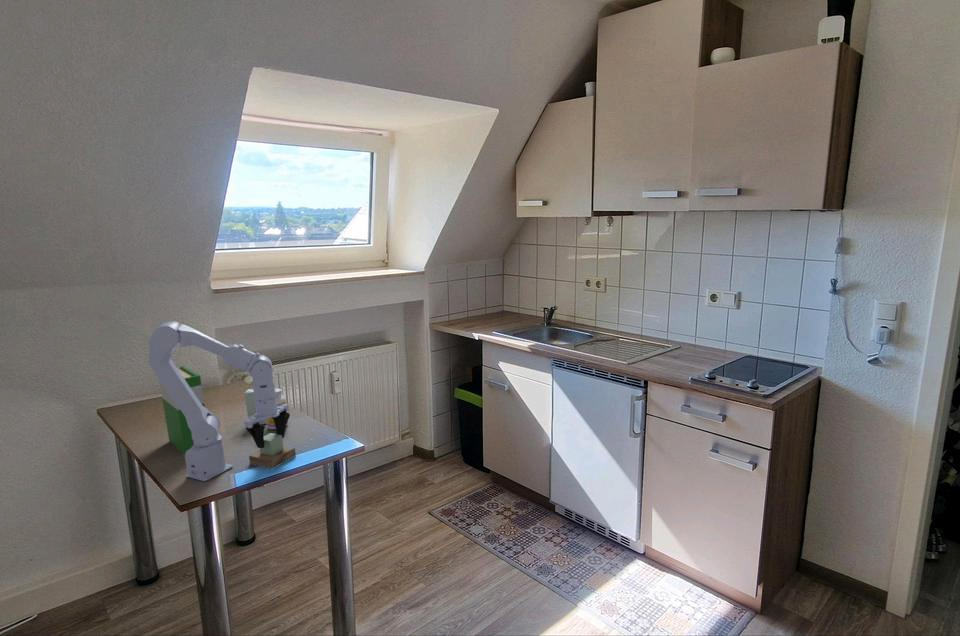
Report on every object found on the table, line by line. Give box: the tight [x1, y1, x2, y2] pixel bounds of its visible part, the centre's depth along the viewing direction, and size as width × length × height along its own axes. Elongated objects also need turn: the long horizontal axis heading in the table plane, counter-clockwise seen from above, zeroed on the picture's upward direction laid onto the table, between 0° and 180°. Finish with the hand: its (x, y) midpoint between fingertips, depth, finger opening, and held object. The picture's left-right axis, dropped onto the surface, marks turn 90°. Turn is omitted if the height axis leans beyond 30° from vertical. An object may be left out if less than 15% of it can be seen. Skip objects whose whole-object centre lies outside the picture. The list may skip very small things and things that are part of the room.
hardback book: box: [158, 365, 206, 457], centre depth 174 cm, size 18×7×24 cm, turn 43°
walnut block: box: [248, 445, 297, 469], centre depth 162 cm, size 9×9×3 cm
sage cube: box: [259, 432, 284, 456], centre depth 162 cm, size 4×4×4 cm
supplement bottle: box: [266, 387, 289, 430], centre depth 187 cm, size 7×7×13 cm
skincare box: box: [243, 388, 267, 425], centre depth 191 cm, size 6×4×12 cm
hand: (270, 442), depth 161 cm, fingers open, 7 cm apart
